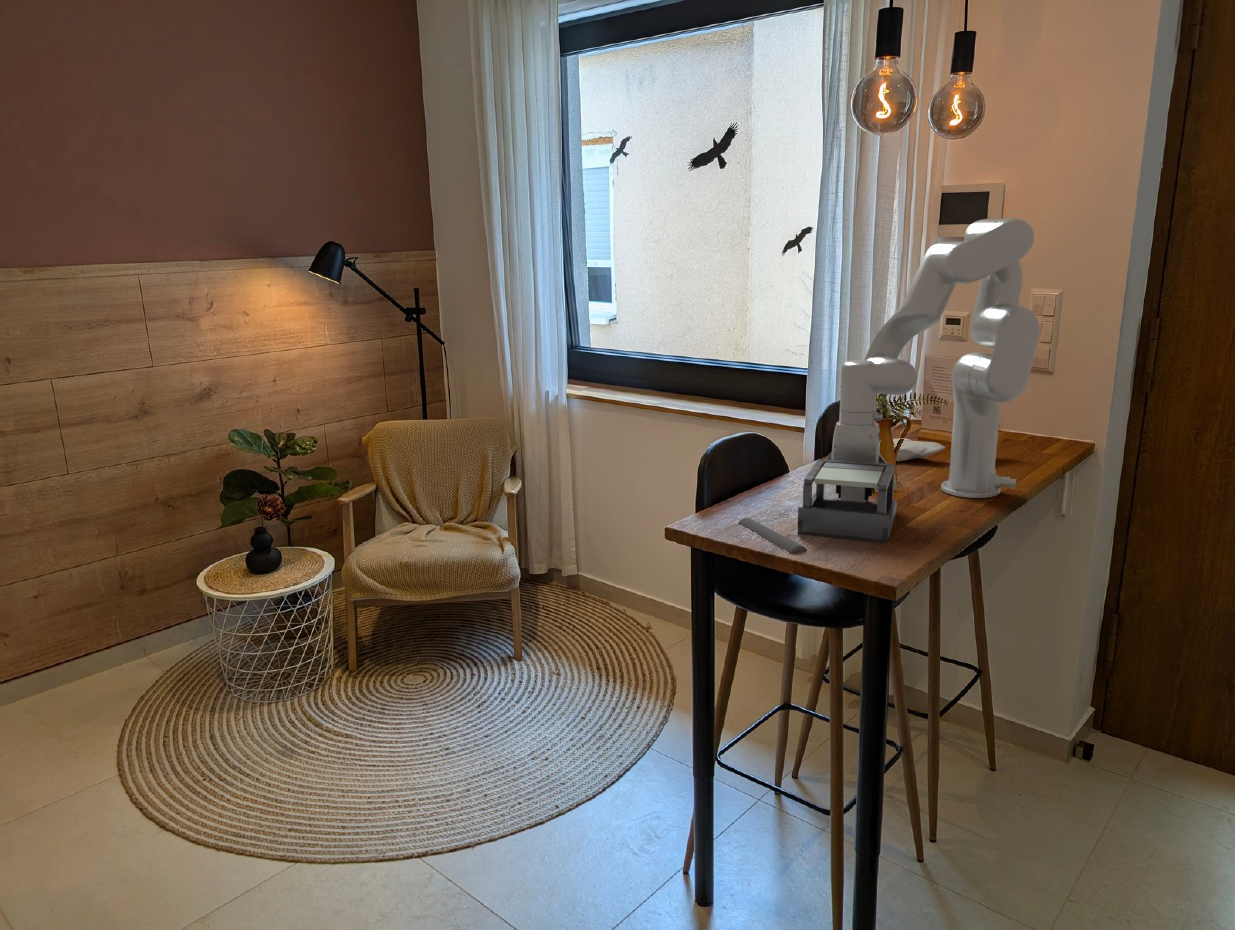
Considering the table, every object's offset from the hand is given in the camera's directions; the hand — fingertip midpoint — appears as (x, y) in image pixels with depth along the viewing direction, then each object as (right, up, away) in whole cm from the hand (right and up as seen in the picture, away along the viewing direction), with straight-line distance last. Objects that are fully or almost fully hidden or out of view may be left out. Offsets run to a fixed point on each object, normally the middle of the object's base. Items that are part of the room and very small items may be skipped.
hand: (853, 497), depth 197 cm
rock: (+20, +8, +36) cm, 42 cm away
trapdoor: (-5, +3, -17) cm, 18 cm away
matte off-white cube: (0, -1, 0) cm, 1 cm away
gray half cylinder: (-22, -8, -21) cm, 31 cm away
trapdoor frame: (-5, -5, -14) cm, 16 cm away
